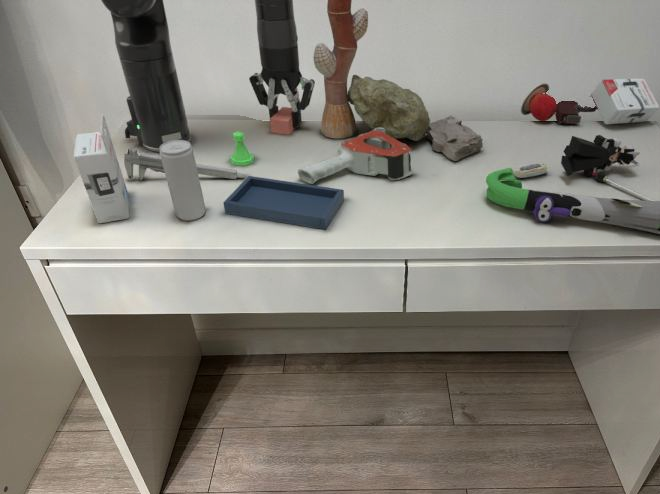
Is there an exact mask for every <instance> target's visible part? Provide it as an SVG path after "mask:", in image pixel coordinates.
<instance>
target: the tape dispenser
mask: <svg viewBox="0 0 660 494" xmlns="http://www.w3.org/2000/svg"><path fill="white" fill-rule="evenodd" d="M411 151H412V148H411V147H410V146H408V144H406V143H403V142H402V141H399V140H397V138H392V137H390V136H389V135H387V134H386V132H385V129H384V128H381V127H379V128H375V129H374V130H373V129H372V130H370V131H368V132H365V133H361V134H359V135H358V136H356V137H353V138H351V139H348V140H345V141H342V142H340V147H339V148H338V149H337V153H338V156H334V157H331V158H328V159H325V160H322V161H319V162H315V163H313V164H311V165H308V166H300V167H298V169H297V175H298V177H299V178H300V180H301V181H303V182H306V183H308V184H309V185H314V183H315V182H317V181H318V180H322V179H325V178H326V177H328V176H331V175H334V174H335V173H339V172H340V171H342V170H344V169H347V170H348V171H351V172H353V173H354V174H358V175H366V176H374V177H376V176H378V175H379V174H380V175H386V176H387V179H388V180H391V181H398V180H399V181H400V180H402V179H404V178H407V177H409V176H412V175H413V174H414V172H413V171H412V163H411V162H412V161H411V160H412V159H411V157H412V156H411V153H410V152H411Z"/></svg>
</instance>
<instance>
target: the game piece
mask: <svg viewBox="0 0 660 494" xmlns="http://www.w3.org/2000/svg"><path fill="white" fill-rule="evenodd" d="M245 135H246V134H245V132H242V131H235V132H233V133H232V140H233V141H235V147H234V150H233V151H234V152H233V154H232V155H231V157H230V162H231V163H232V164H233V165H235V166H240V167H242V166H244V167H245V166H248V165H250V164H252V163H253V162H254V160H255V157H254V156H255V155H254V154H252V153H251V152H249V149H248V148H247V147H246V145H245V142H244V141H245V137H246V136H245Z"/></svg>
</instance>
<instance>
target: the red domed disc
mask: <svg viewBox="0 0 660 494" xmlns="http://www.w3.org/2000/svg"><path fill="white" fill-rule="evenodd" d="M548 90H549V91H550V85H549V83H546V82H543V83H540V84H538V85H536V86H535V87H534V88H533V89H532V90H530V91H529V92H528V94H527V95H526V96H525V98H524V99H523V101H522V103H521V107H520V113H521V115H523V116H527V115H530V114H531V115H532V117H533V118H534V119H536V120H537V121H538V122H547V121H549V120H550V119H551V118H553V117H554V115H555V114H557V113H555V112H556V110H557V104H556V101H555V99H554V98H553V97H551V96H552V95H550V94H546V92H547V91H548ZM543 93H545V94H543Z"/></svg>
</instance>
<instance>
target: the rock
mask: <svg viewBox="0 0 660 494" xmlns="http://www.w3.org/2000/svg"><path fill="white" fill-rule="evenodd" d="M347 93H348V101H349V104H350V105H352V106H353V107H354V111H355V113H356V114H357V115H358V116H359V118H360V119H361V120H362V122H363V123H364V124H366V125H367V126H368V127H369V128H370V129H371V130H372V131H373V130H374V129H375V128H379V127H381V128H384V129H385V132H386V134H387V135H389V136H390V137H392V138H394V139H405V138H407V139H409V140H411V141H420V140H422V139H423V138H424V137H425V136H426V135H427V134H426V132H427V129H428V127H429V124H430V123H431V119H430V116H429V111H428V110H427V107H426V105H425V103H424V101H423V100H422V98H421V96H420V95H419V94H418V93H416V92H414V91H412V90H411V89H410V88H403V87H401V86H400V85H398V84H397V83H395V82H393V81H390V80H387V79H384V78H383V79H382V78H381V79H373V78H372V77H370V76H365V77H363V78H362V77H361V76H360V75H357V74H352V77H351V83H350V86H349V88H348V89H347Z"/></svg>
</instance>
